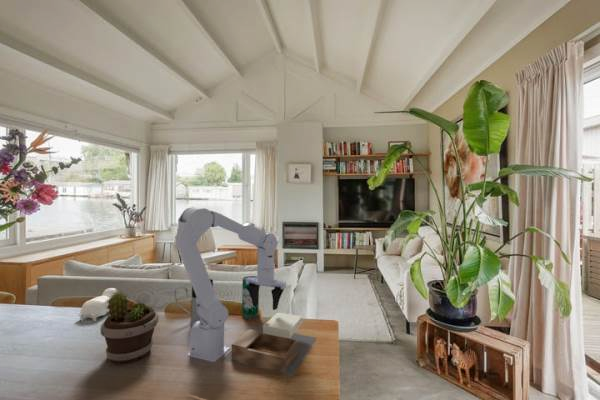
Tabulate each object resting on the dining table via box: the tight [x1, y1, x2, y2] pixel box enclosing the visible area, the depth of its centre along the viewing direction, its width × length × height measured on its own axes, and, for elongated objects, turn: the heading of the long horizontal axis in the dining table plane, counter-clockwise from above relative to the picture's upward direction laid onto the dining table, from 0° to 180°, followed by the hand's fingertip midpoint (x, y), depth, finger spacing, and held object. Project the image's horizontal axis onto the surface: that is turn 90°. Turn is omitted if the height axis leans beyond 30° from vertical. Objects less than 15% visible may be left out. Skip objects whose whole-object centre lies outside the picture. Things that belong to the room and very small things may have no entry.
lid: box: [262, 312, 303, 339], centre depth 90 cm, size 11×9×3 cm
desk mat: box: [221, 326, 317, 378], centre depth 86 cm, size 22×22×1 cm
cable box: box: [231, 328, 298, 373], centre depth 81 cm, size 16×10×5 cm, turn 70°
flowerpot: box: [99, 288, 159, 364], centre depth 82 cm, size 14×15×20 cm
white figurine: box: [78, 287, 118, 322], centre depth 111 cm, size 9×8×15 cm
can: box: [241, 275, 260, 320], centre depth 110 cm, size 6×6×15 cm
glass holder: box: [174, 278, 214, 326], centre depth 105 cm, size 9×14×15 cm, turn 103°
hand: (265, 307), depth 95 cm, fingers open, 7 cm apart
